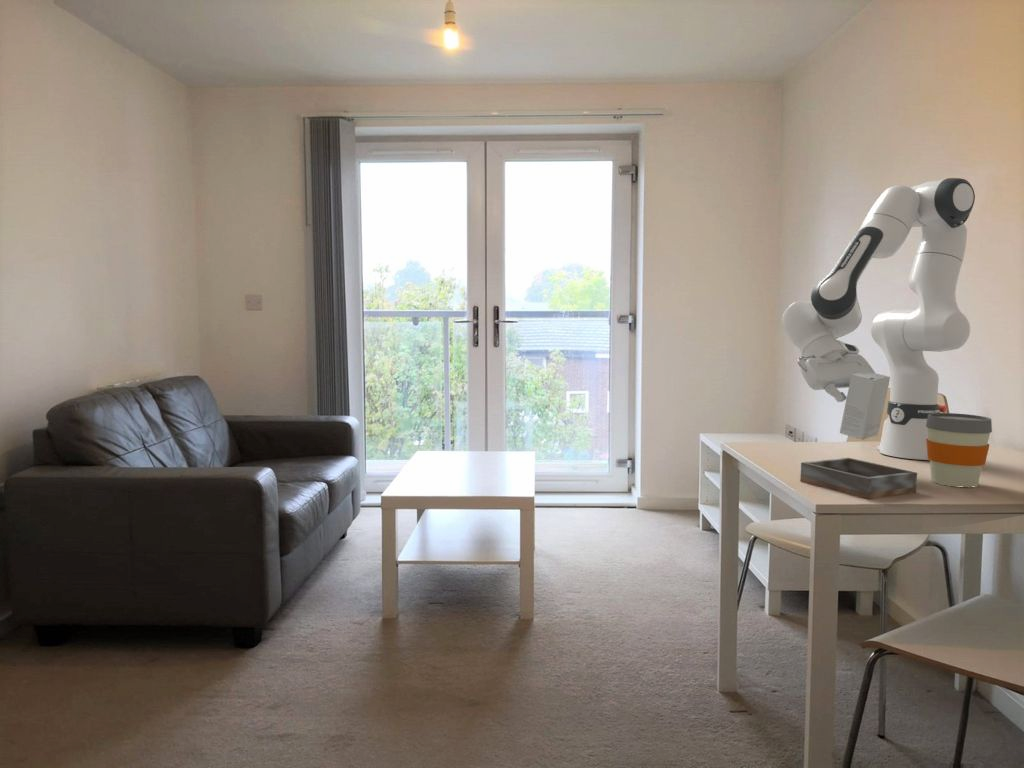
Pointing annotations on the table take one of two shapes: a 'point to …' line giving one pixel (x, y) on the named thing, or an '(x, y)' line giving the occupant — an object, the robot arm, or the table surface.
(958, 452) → the reusable coffee cup
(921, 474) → the table surface
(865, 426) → the skincare box
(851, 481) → the open storage bin
